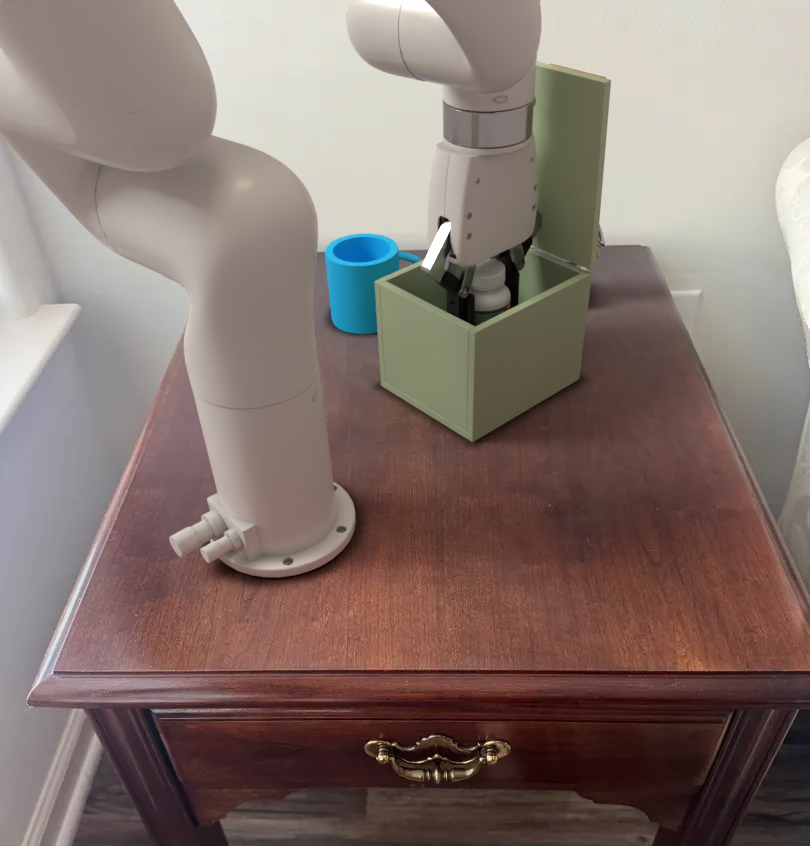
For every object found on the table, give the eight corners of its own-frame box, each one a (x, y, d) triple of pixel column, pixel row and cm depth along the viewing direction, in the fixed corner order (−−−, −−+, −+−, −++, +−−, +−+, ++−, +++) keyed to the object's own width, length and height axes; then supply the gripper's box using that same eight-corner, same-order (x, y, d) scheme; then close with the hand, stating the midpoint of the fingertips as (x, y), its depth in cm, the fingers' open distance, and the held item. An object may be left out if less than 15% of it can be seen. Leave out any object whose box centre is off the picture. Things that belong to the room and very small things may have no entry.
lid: (605, 82, 68) (647, 63, 71) (484, 51, 76) (525, 35, 78) (590, 270, 80) (626, 248, 82) (486, 227, 88) (523, 208, 90)
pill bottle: (514, 360, 85) (519, 276, 79) (463, 367, 84) (464, 284, 78) (499, 333, 89) (503, 251, 82) (450, 340, 88) (450, 258, 82)
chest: (472, 442, 82) (475, 333, 73) (380, 386, 89) (374, 280, 81) (579, 379, 89) (592, 273, 81) (485, 331, 96) (489, 230, 88)
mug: (332, 336, 97) (325, 268, 91) (330, 301, 103) (324, 236, 97) (437, 328, 97) (437, 260, 92) (429, 294, 103) (428, 228, 98)
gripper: (524, 87, 77) (514, 275, 90) (380, 137, 69) (391, 335, 82) (589, 105, 73) (569, 299, 86) (443, 161, 65) (445, 365, 78)
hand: (482, 315), depth 84 cm, fingers closed on pill bottle, 5 cm apart
